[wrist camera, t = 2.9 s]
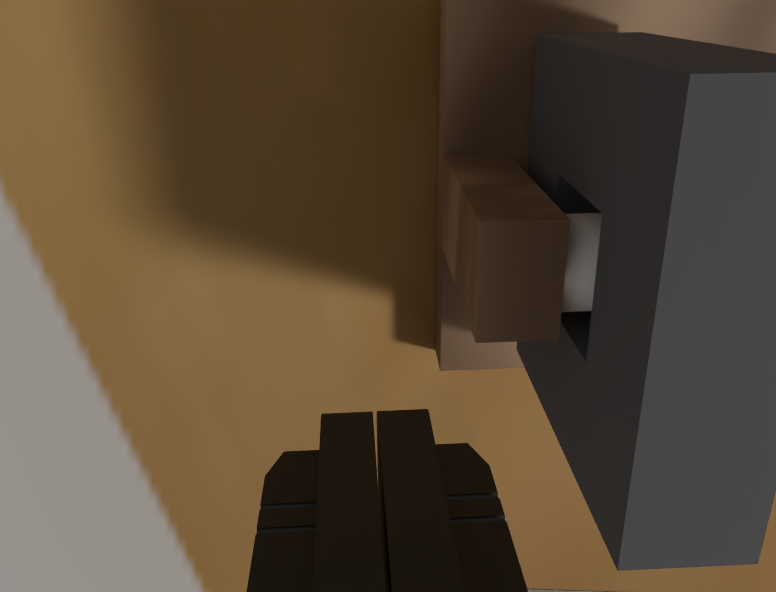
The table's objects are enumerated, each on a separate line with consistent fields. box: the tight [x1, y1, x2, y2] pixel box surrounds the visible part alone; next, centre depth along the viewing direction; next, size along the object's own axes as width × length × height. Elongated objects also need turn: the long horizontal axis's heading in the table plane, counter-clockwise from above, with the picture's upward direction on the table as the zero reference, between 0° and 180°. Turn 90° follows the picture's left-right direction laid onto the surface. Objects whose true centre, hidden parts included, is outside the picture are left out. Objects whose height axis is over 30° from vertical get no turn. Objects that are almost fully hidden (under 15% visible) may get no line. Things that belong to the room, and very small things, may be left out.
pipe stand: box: [436, 0, 776, 371], centre depth 20 cm, size 17×12×8 cm
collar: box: [516, 32, 776, 571], centre depth 18 cm, size 3×10×10 cm, turn 1°
